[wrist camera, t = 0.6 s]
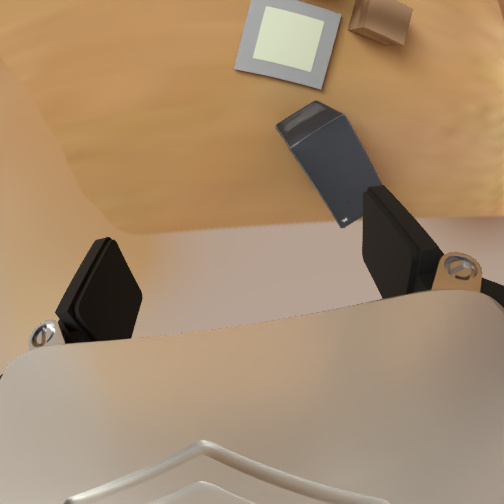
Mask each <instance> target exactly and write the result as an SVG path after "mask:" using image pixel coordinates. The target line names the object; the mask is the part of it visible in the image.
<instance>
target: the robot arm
mask: <svg viewBox="0 0 504 504" xmlns="http://www.w3.org/2000/svg"><path fill="white" fill-rule="evenodd" d="M362 254H363V259H364V262H365V264H366V266H367V268H368V270H369V272H370V274H371V276H372V278H373V280H374V282H375V284H376V286H377V288H378V290H379V292H380V294H381V296H382V298H383V299H380V300H376V301H371V302H367V303H362V304H357V305H353V306H348V307H343V308H338V309H333V310H328V311H323V312H317V313H312V314H307V315H301V316H296V317H290V318H284V319H278V320H272V321H266V322H260V323H253V324H247V325H240V326H234V327H226V328H219V329H212V330H204V331H197V332H188V333H180V334H171V335H163V336H153V337H143V338H132V339H131V337H132V333H133V330H134V325H135V322H136V319H137V315H138V312H139V309H140V305H141V302H142V292H141V290H140V288H139V286H138V284H137V282H136V281H135V279H134V277H133V275H132V273H131V271H130V269H129V267H128V265H127V263H126V261H125V259H124V257H123V255H122V253H121V251H120V249H119V247H118V244H117V242H116V241H115V240H112V239H111V238H110V237H106V238H103V239H99V240H96V241H95V242H94V243H93V245H92V247H91V248H90V250H89V252H88V253H87V255H86V257H85V258H84V260H83V262H82V264H81V265H80V267H79V269H78V270H77V272H76V274H75V276H74V278H73V279H72V281H71V283H70V285H69V287H68V288H67V290H66V292H65V294H64V296H63V298H62V300H61V302H60V304H59V306H58V308H57V309H56V312H55V313H56V315H57V316H58V317H59V319H60V320H59V321H58V323H57V321H55V320H47V321H44V322H43V323H41V324H40V325H38V326H37V327H36V328H35V329H34V331H33V332H32V334H31V335H30V338H29V349H30V351H29V352H26V353H25V354H22V355H20V356H19V357H17V358H16V359H14V360H13V361H12V362H11V363H10V364H9V365H8V367H7V369H6V370H5V372H4V374H2V375H1V376H0V504H504V286H503V285H500V284H498V283H495V282H492V281H489V280H487V279H484V278H482V269H481V266H480V264H479V263H478V262H477V261H476V260H475V259H474V258H472V257H471V256H469V255H467V254H464V253H459V252H451V253H447V254H445V255H444V254H443V252H442V251H441V250H440V249H439V247H438V246H437V244H436V243H435V242H434V241H433V239H432V238H431V237H430V236H429V235H428V233H427V232H426V231H425V230H424V229H423V228H422V227H421V225H420V224H419V223H418V222H417V221H416V220H415V218H414V217H413V216H412V215H411V214H410V213H409V212H408V211H407V210H406V208H405V207H404V206H403V205H402V204H401V203H400V202H399V201H398V200H397V199H396V198H395V197H394V195H393V194H392V193H391V192H390V191H389V190H388V189H387V188H386V187H385V186H384V185H379V186H372V187H368V188H367V191H365V192H363V245H362Z"/></svg>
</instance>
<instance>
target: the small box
mask: <svg viewBox="0 0 504 504" xmlns="http://www.w3.org/2000/svg"><path fill="white" fill-rule="evenodd" d="M276 129H277V130H278V132H279V133H280V135H281V136H282V138H283V139H284V140H285V142H286V143H287V145H288V147H289V149H290V151H291V152H292V154H293V155H294V157H295V158H296V160H297V161H298V163H299V164H300V166H301V167H302V169H303V170H304V171H305V173H306V174H307V176H308V178H309V179H310V181H311V182H312V184H313V185H314V187H315V188H316V190H317V191H318V193H319V195H320V196H321V197H322V199H323V201H324V202H325V204H326V205H327V207H328V208H329V210H330V212H331V213H332V215H333V216H334V218H335V220H336V221H337V223H338V224H339V226H340V228H345V227H346V226H348V225H349V224H351V223H353V222H354V221H356V220H357V219H359V218H361V217H362V216H363V192H365V191H367V188H368V187H372V186H379V185H382V183H381V181H380V179H379V177H378V175H377V173H376V171H375V169H374V167H373V165H372V163H371V161H370V159H369V157H368V155H367V154H366V152H365V150H364V148H363V146H362V144H361V142H360V140H359V139H358V137H357V135H356V133H355V131H354V129H353V128H352V126H351V124H350V122H349V121H348V119H347V117H346V116H345V114H342V113H340V112H338V111H336V110H334V109H332V108H330V107H328V106H327V105H325V104H323V103H321V102H319V101H314V102H312V103H310V104H309V105H307V106H305V107H304V108H302V109H300V110H299V111H297V112H296V113H294V114H293V115H291V116H289V117H288V118H286V119H285V120H283V121H281V122H280V123H278V124H277V125H276Z"/></svg>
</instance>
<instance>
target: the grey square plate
mask: <svg viewBox="0 0 504 504" xmlns="http://www.w3.org/2000/svg"><path fill="white" fill-rule="evenodd" d="M341 15H342V14H339V13H336V12H333V11H331V10H328V9H325V8H321V7H318V6H315V5H312V4H308V3H305V2H301V1H298V0H251V3H250V7H249V11H248V14H247V18H246V22H245V26H244V30H243V34H242V38H241V42H240V46H239V51H238V55H237V59H236V63H235V68H234V69H236V70H241V71H247V72H252V73H257V74H261V75H266V76H270V77H275V78H279V79H283V80H287V81H291V82H295V83H299V84H303V85H306V86H310V87H313V88H317V89H320V90H321V88H322V85H323V81H324V77H325V74H326V70H327V67H328V63H329V59H330V56H331V52H332V49H333V45H334V41H335V37H336V34H337V30H338V26H339V23H340V19H341Z"/></svg>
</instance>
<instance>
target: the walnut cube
mask: <svg viewBox="0 0 504 504" xmlns="http://www.w3.org/2000/svg"><path fill="white" fill-rule="evenodd" d="M412 11H413V9H412V8H410V7H408V6H406V5H404V4H402V3H400V2H398V1H396V0H356V1H355V5H354V9H353V13H352V17H351V20H350V24H349V28H348V30H349V31H352V32H354V33H357V34H359V35H362V36H364V37H367V38H369V39H372V40H374V41H376V42H379V43H381V44H383V45H404V43H405V39H406V35H407V31H408V27H409V23H410V19H411V15H412Z"/></svg>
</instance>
